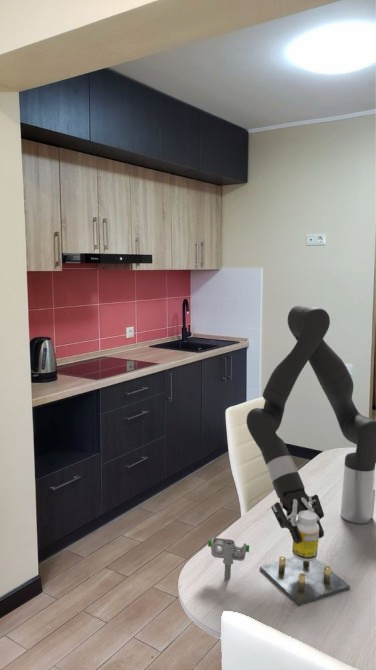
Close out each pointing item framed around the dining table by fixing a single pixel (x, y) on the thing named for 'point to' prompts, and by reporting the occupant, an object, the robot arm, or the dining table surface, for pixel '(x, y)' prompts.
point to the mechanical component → (227, 553)
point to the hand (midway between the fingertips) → (310, 539)
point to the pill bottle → (307, 536)
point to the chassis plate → (310, 580)
